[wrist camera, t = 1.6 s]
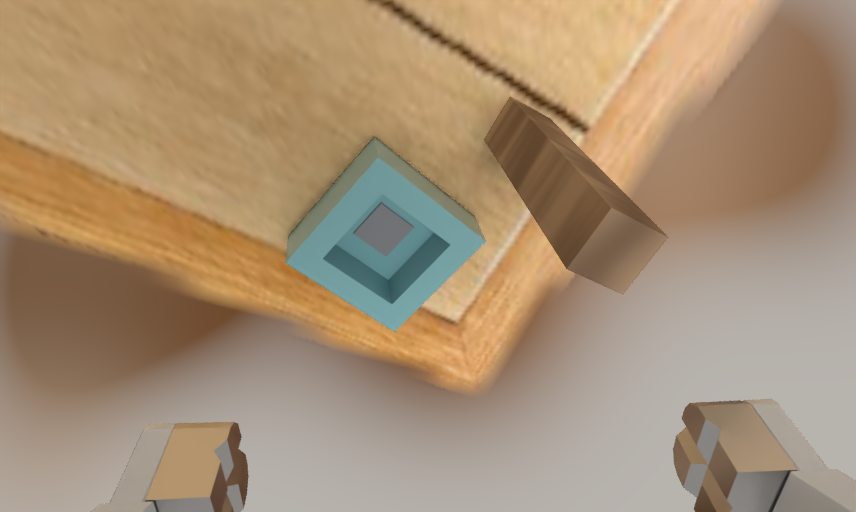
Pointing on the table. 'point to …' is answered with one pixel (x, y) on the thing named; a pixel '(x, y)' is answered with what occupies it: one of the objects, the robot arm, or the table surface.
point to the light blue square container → (383, 237)
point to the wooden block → (573, 199)
